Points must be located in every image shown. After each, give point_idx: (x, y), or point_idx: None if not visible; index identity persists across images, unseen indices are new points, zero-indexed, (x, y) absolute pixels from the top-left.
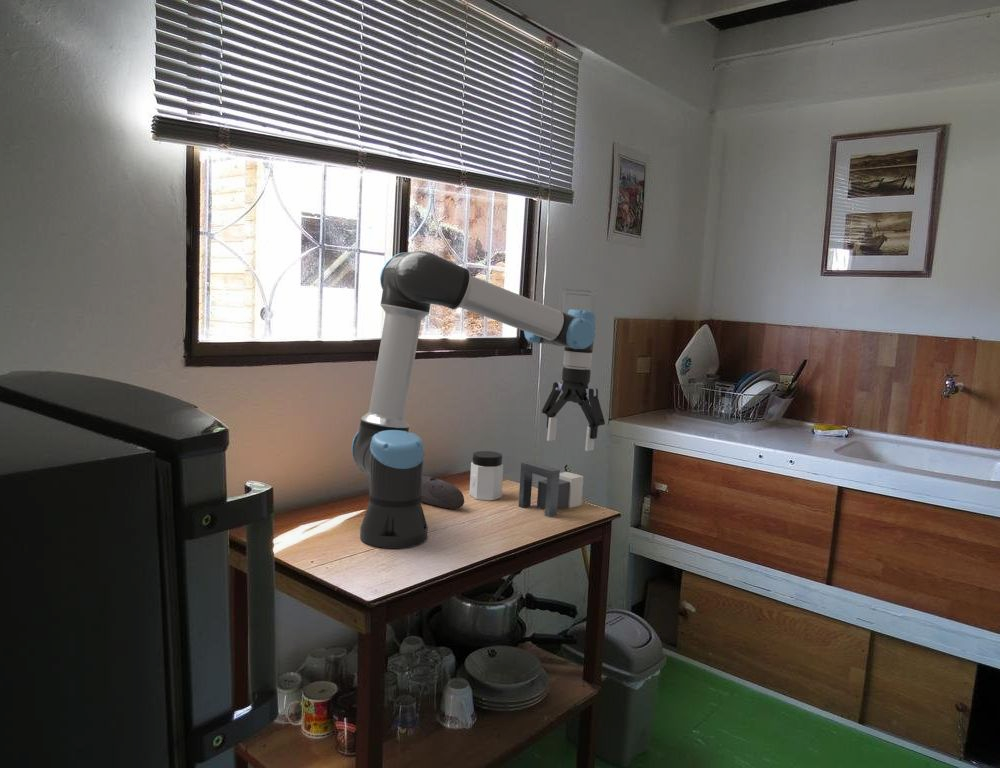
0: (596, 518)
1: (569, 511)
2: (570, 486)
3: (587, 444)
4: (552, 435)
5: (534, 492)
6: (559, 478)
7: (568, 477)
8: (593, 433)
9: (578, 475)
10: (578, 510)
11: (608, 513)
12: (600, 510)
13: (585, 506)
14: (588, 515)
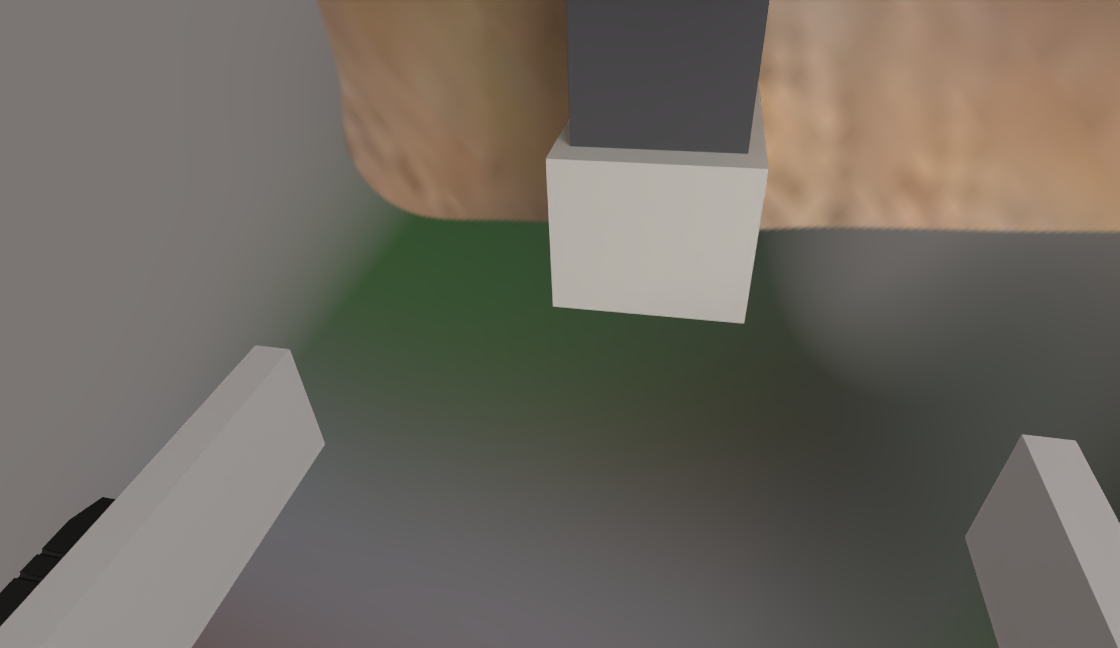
0: (336, 39)
1: (532, 2)
2: (566, 131)
3: (204, 407)
4: (1020, 562)
5: (1030, 170)
6: (700, 152)
7: (596, 174)
8: (30, 576)
9: (594, 297)
10: (517, 80)
11: (388, 188)
12: (451, 198)
13: None
14: (405, 47)
